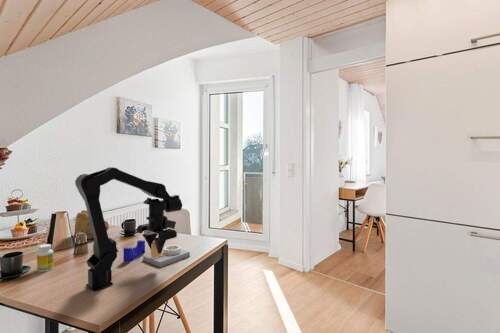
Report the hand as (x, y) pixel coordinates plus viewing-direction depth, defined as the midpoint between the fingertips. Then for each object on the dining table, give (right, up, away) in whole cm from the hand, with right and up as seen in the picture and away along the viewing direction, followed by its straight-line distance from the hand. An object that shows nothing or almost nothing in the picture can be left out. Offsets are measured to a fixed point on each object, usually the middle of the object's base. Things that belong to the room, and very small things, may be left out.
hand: (156, 252), depth 114 cm
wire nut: (0, -1, 0) cm, 1 cm away
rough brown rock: (-50, -5, +42) cm, 66 cm away
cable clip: (-15, -6, +13) cm, 21 cm away
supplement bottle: (-44, -6, -2) cm, 44 cm away
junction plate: (+1, -6, +12) cm, 13 cm away
